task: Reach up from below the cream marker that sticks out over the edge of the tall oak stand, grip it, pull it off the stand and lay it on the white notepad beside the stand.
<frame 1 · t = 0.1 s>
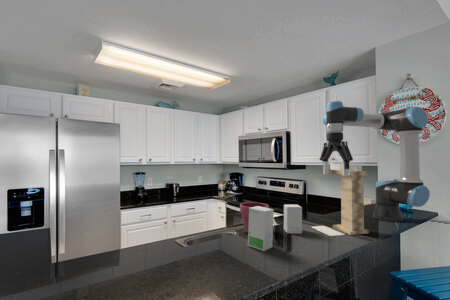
hand: (335, 174, 120), 28 cm above the worktop, tool pointing down, fingers open, 13 cm apart
supplement box: (292, 231, 118), on the worktop
notepad: (327, 231, 119), on the worktop
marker: (342, 170, 126), point 30 cm above the worktop, touching stand
stand: (350, 230, 121), on the worktop
skincare box: (260, 247, 97), on the worktop
plant pot: (254, 230, 119), on the worktop
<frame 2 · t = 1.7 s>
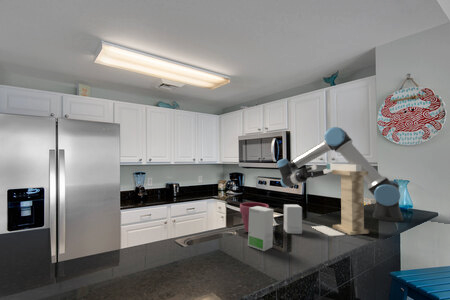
hand: (324, 167, 142), 31 cm above the worktop, tool pointing upward, fingers open, 13 cm apart
nothing on the worktop moved.
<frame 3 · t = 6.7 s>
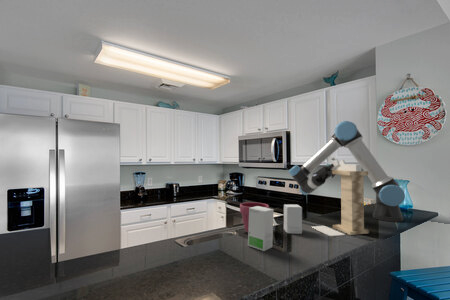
hand: (341, 162, 127), 34 cm above the worktop, tool pointing upward, fingers closed on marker, 3 cm apart
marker: (342, 170, 126), point 30 cm above the worktop, touching gripper, stand
everything else where it was.
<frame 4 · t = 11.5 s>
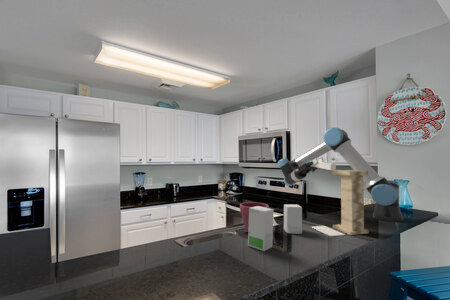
hand: (319, 160, 142), 35 cm above the worktop, tool pointing upward, fingers closed on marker, 3 cm apart
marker: (320, 167, 141), point 31 cm above the worktop, tilted 5°, touching gripper
everything else where it was.
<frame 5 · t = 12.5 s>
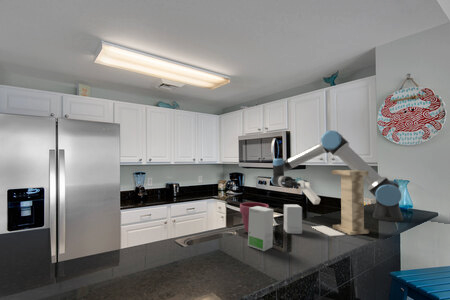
hand: (307, 185, 137), 21 cm above the worktop, tool horizontal, fingers closed on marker, 3 cm apart
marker: (306, 192, 138), point 17 cm above the worktop, tilted 29°, touching gripper
everything else where it was.
when the fingers open (8 cm above the worktop, at t = 16.5 s): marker drops 4 cm, resting on notepad.
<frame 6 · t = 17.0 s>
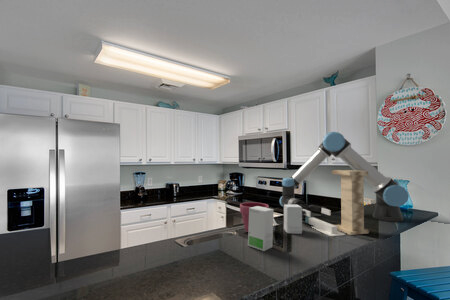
hand: (320, 213, 125), 8 cm above the worktop, tool horizontal, fingers open, 11 cm apart
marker: (320, 227, 124), resting on notepad
everything else where it was.
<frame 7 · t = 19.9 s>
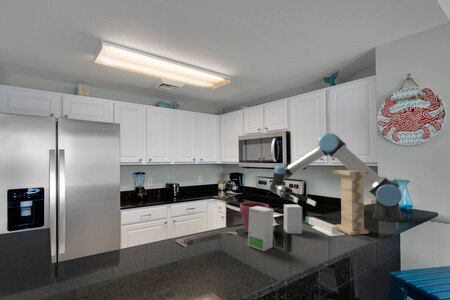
hand: (306, 202, 140), 10 cm above the worktop, tool horizontal, fingers open, 13 cm apart
nothing on the worktop moved.
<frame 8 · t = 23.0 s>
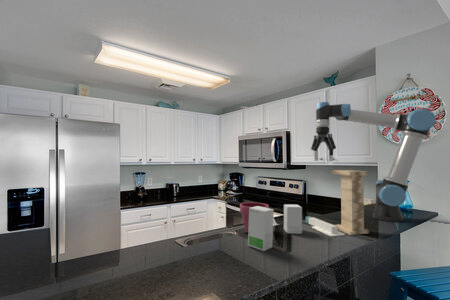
hand: (322, 160, 150), 35 cm above the worktop, tool pointing down, fingers open, 13 cm apart
nothing on the worktop moved.
at the end: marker inside the target area on the notepad (4.4 cm from its centre), point 0.4 cm above the notepad's base; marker touching notepad; the gripper is holding nothing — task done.
